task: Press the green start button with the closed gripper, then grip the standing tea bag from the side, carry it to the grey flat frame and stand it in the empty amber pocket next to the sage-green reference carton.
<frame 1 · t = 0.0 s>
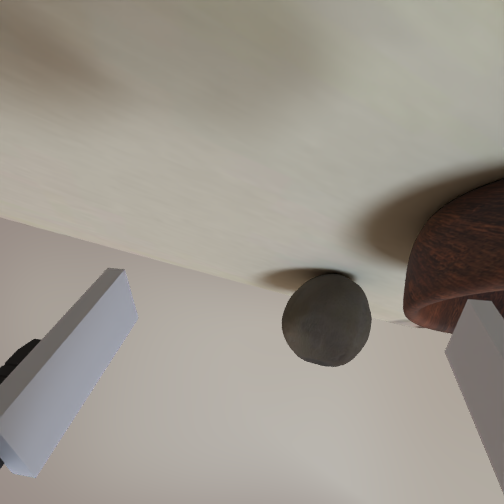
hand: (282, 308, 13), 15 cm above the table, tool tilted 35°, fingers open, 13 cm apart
dark brown ball: (328, 275, 58), on the table
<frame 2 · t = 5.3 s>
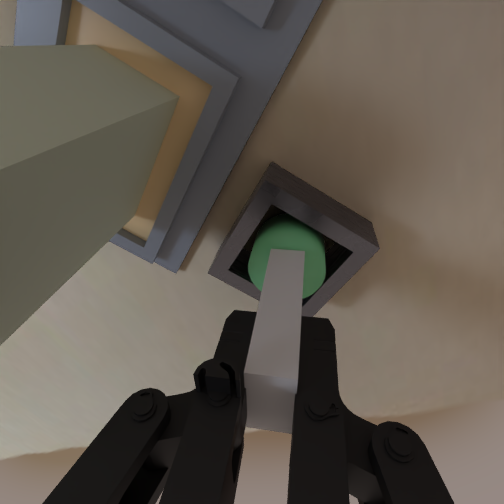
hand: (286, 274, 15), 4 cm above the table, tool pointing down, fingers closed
start button: (287, 256, 16), point 2 cm above the table, slide at -0.4 cm, touching gripper
reference carton: (117, 141, 16), resting on grey flat frame
button housing: (290, 236, 18), on the table
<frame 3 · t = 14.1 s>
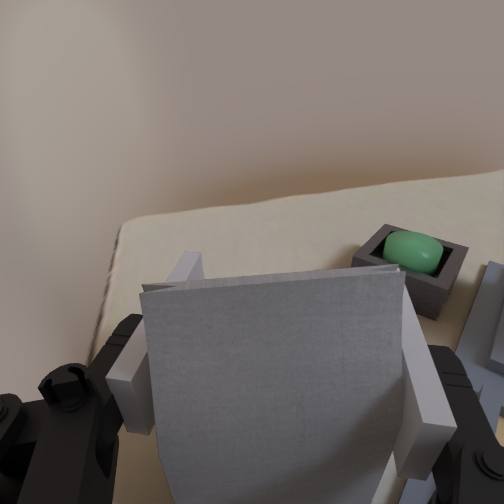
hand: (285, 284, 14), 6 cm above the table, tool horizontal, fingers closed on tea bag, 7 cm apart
start button: (409, 258, 23), point 2 cm above the table, slide at -0.5 cm
button housing: (403, 280, 24), on the table
tea bag: (270, 472, 14), on the table, touching gripper
when the fingers open (7 cm above the table, at t = 18.8 s): tea bag stays where it is, resting on grey flat frame.
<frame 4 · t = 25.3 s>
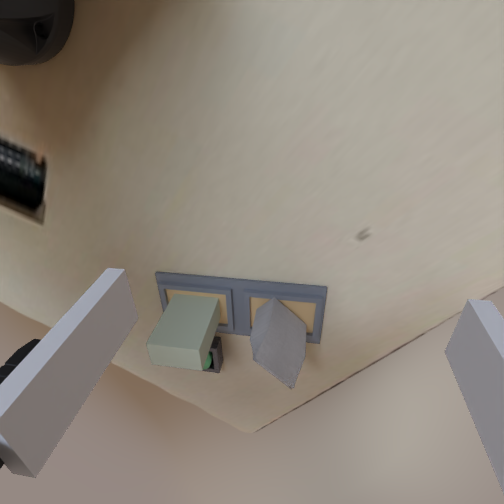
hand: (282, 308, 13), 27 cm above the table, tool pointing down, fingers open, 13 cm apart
grey flat frame: (239, 307, 50), on the table
start button: (201, 356, 55), point 2 cm above the table, slide at -0.5 cm
reference carton: (197, 305, 50), resting on grey flat frame
button housing: (204, 347, 56), on the table
tea bag: (281, 315, 48), point 1 cm above the table, touching grey flat frame
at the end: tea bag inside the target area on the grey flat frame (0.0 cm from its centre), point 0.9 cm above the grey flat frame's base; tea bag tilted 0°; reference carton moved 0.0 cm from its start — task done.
